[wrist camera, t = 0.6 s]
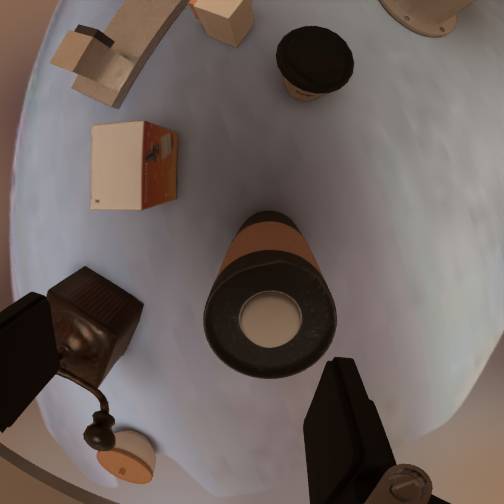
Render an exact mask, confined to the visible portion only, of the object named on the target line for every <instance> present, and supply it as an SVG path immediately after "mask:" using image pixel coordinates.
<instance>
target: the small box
mask: <svg viewBox="0 0 504 504" xmlns="http://www.w3.org/2000/svg"><path fill="white" fill-rule="evenodd" d="M91 135H92V139H91V196H90V209H91V210H145V209H148V208H151V207H154V206H157V205H160V204H163V203H166V202H169V201H172V200H175V199H176V172H177V150H178V133H177V132H174V131H172V130H169V129H166V128H164V127H161V126H158V125H155V124H153V123H150V122H147V121H130V122H118V123H108V124H99V125H93V126H92V134H91Z"/></svg>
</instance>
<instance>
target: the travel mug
mask: <svg viewBox="0 0 504 504" xmlns="http://www.w3.org/2000/svg"><path fill="white" fill-rule="evenodd" d="M203 324H204V331H205V335H206V338H207V341H208V343H209V345H210V347H211V348H212V350H213V352H214V353H215V354H216V355H217V357H218V358H219V359H220V360H221V361H222V362H224V363H225V364H226V365H227V366H229V367H230V368H232V369H234V370H235V371H237V372H239V373H242V374H244V375H247V376H251V377H255V378H262V379H277V378H284V377H288V376H292V375H295V374H297V373H300V372H302V371H304V370H306V369H307V368H309V367H311V366H312V365H313V364H315V363H316V362H317V361H318V360H319V359H320V358H321V357H322V356H323V355H324V354H325V352H326V351H327V350H328V348H329V346H330V344H331V343H332V340H333V338H334V335H335V331H336V326H337V314H336V307H335V303H334V300H333V298H332V295H331V293H330V291H329V288H328V286H327V284H326V282H325V280H324V277H323V275H322V273H321V271H320V269H319V266H318V264H317V262H316V260H315V258H314V256H313V254H312V251H311V249H310V247H309V245H308V243H307V242H306V240H305V238H304V237H303V235H302V234H301V232H300V231H299V230H298V228H297V227H296V225H295V224H294V223H293V222H292V220H290V219H289V218H288V217H287V216H285V215H283V214H281V213H278V212H274V211H264V212H260V213H257V214H255V215H253V216H251V217H250V218H249V219H248V220H247V221H246V222H245V223H244V224H243V226H242V227H241V228H240V230H239V232H238V233H237V235H236V236H235V238H234V240H233V241H232V243H231V245H230V247H229V249H228V252H227V254H226V256H225V259H224V261H223V263H222V266H221V268H220V270H219V273H218V275H217V278H216V280H215V282H214V285H213V287H212V289H211V292H210V294H209V297H208V299H207V302H206V305H205V310H204V319H203Z"/></svg>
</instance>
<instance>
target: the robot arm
mask: <svg viewBox="0 0 504 504" xmlns="http://www.w3.org/2000/svg"><path fill="white" fill-rule="evenodd" d="M474 1H476V0H380V2H381V3H382V5H383V6H384V7H385V9H386V10H387V11H388V12H389V13H390V14H391V15H392V16H393V17H394V18H395V19H396V20H397V21H399V22H400V23H401V24H403V25H404V26H406V27H407V28H409V29H411V30H412V31H415V32H417V33H419V34H422V35H425V36H430V37H442V36H444V35H447V34H448V33H450V32H451V31H452V30H453V29H454V28H455V26H456V22H457V13H458V12H460V11H461V10H462V9H464V8H465V7H467V6H468V5H470V4H471V3H473V2H474ZM59 368H60V360H59V355H58V350H57V345H56V340H55V334H54V328H53V322H52V315H51V307H50V303H49V302H48V300H47V298H46V297H45V296H44V295H41V294H38V293H35V292H30V293H28V294H27V295H25V296H24V297H22V298H21V299H19V300H18V301H16V302H15V303H13V304H12V305H10V306H9V307H7V308H6V309H4V310H3V311H1V312H0V431H1V432H2V433H3V432H4V430H5V429H6V428H7V427H10V426H11V425H12V424H13V423H14V422H15V421H16V420H17V418H18V417H19V416H20V415H21V414H22V412H23V411H24V410H25V409H26V408H27V407H28V405H29V404H30V403H31V402H32V401H33V399H34V398H35V397H36V396H37V395H38V394H39V392H40V391H41V390H42V389H43V388H44V387H45V386H46V384H47V383H48V382H49V381H50V380H51V379H52V378H53V377H54V375H55V374H56V373H57V372H58V371H59ZM303 432H304V442H305V452H306V463H307V473H308V485H309V497H310V504H450V503H448V502H446V501H444V500H442V499H440V498H438V497H436V496H434V495H432V494H431V493H432V489H433V488H432V481H431V480H430V477H429V476H428V475H427V473H425V472H424V470H422V469H420V468H419V467H417V466H414V465H411V464H399V465H397V464H396V461H395V459H394V455H393V453H392V450H391V447H390V444H389V441H388V438H387V436H386V433H385V430H384V428H383V425H382V422H381V419H380V417H379V414H378V412H377V409H376V406H375V404H374V402H373V401H372V400H369V398H368V395H367V393H366V390H365V387H364V385H363V382H362V380H361V377H360V374H359V372H358V369H357V367H356V364H355V362H354V360H353V359H352V358H343V357H334V358H333V360H332V361H327V363H326V365H325V368H324V371H323V373H322V376H321V379H320V381H319V384H318V387H317V389H316V392H315V395H314V397H313V400H312V402H311V405H310V407H309V410H308V412H307V415H306V417H305V420H304V425H303ZM0 504H119V503H116V502H113V501H111V500H108V499H106V498H103V497H101V496H98V495H96V494H93V493H91V492H88V491H86V490H84V489H82V488H79V487H77V486H75V485H73V484H71V483H68V482H67V481H64V480H63V479H61V478H58V477H56V476H55V475H52V474H51V473H49V472H47V471H45V470H43V469H41V468H40V467H38V466H36V465H35V464H32V463H31V462H29V461H28V460H26V459H24V458H23V457H21V456H20V455H18V454H16V453H15V452H13V451H12V450H10V449H8V448H7V447H6V446H4V445H3V444H1V443H0Z"/></svg>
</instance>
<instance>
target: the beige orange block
mask: <svg viewBox="0 0 504 504" xmlns="http://www.w3.org/2000/svg"><path fill="white" fill-rule="evenodd" d="M188 3H189V5H190V7H191V9H192V11H193V13H194V15H195V16H196V18H197V19H199V20H200V21H201V23H202V25H203V27H204V29H205V31H206V33H207V35H208V36H210V37H212V38H215V39H217V40H219V41H222V42H224V43H227V44H229V45H231V46H233V47H236V48H237V47H238V45H239V44H240V42H241V41H242V40H243V38H244V37H245V36H246V34H247V33H248V32H249V30H250V29H251V28H252V26H253V25H254V18H253V9H252V0H190V1H189V2H188Z"/></svg>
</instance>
